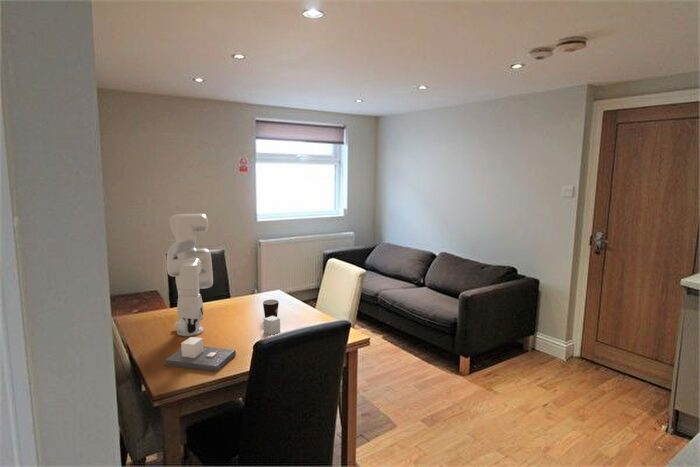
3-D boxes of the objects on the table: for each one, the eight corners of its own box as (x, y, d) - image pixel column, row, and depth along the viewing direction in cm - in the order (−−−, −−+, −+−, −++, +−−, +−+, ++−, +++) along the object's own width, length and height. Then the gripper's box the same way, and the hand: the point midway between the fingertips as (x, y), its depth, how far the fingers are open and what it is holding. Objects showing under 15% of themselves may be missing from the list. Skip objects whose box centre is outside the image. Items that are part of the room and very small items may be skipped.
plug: (182, 361, 180) (181, 343, 179) (191, 354, 187) (190, 336, 186) (194, 363, 179) (193, 344, 178) (203, 356, 186) (203, 338, 185)
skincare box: (272, 328, 219) (272, 315, 217) (280, 331, 215) (280, 318, 214) (263, 332, 214) (263, 318, 213) (271, 335, 210) (271, 321, 209)
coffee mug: (270, 323, 226) (270, 305, 224) (259, 319, 231) (259, 302, 230) (286, 317, 235) (285, 300, 234) (275, 314, 240) (275, 297, 239)
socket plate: (165, 365, 177) (164, 358, 177) (187, 349, 193) (187, 342, 192) (216, 372, 172) (216, 364, 172) (235, 355, 187) (235, 348, 187)
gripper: (168, 292, 177) (171, 333, 180) (200, 296, 173) (202, 337, 177) (179, 287, 184) (181, 326, 187) (210, 290, 181) (212, 330, 184)
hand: (191, 331), depth 182 cm, fingers closed
